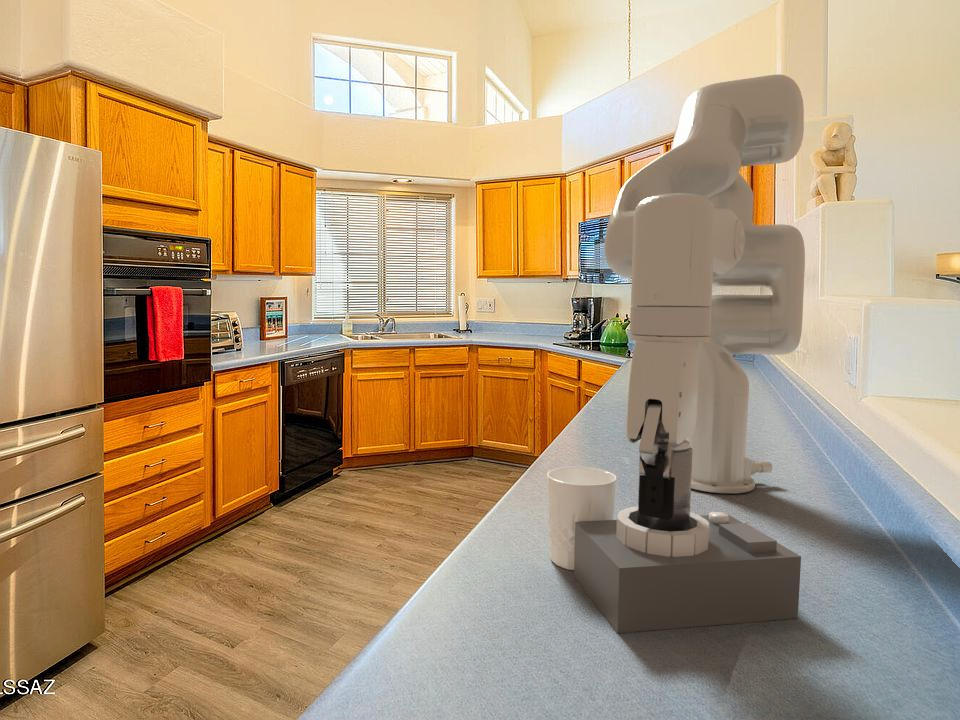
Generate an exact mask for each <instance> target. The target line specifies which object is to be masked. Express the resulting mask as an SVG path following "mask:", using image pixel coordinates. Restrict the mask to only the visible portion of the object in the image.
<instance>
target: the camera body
mask: <svg viewBox="0 0 960 720" xmlns="http://www.w3.org/2000/svg"><path fill="white" fill-rule="evenodd" d="M637 516H638V505H635V506H633V505H632V506H629V507H627V508H623V509H621V510H619V511H618V513H617V516H616V519H614V520H602V521H581V522H575V554H574V570H573V576H574V578H575V579H576V580H577V582H578V583H579V584H580V585H581V587H582V588H583V590H584V591H585V592H586V594H587V596H588V597H590V599H591V601H592V602H593V603H594V604H595V605H596V608H598V609H599V611H600V612H601V614H602V615H603V616H604V617H605V619H606V620H607V622H608V623H609V624H610V626H611V627H612V628H613V630H614V631H615V633H616V634H624V633H635V632H636V633H638V632H649V631H658V630H659V631H660V630H661V631H662V630H672V629H685V628H686V629H687V628H694V627H696V628H697V627H707V626H709V627H710V626H720V625H721V626H723V625H732V624H743V623H745V624H746V623H758V622H765V621H766V622H767V621H769V622H770V621H780V620H781V621H782V620H792V619H794V620H795V619H798V618H799V605H800V604H799V601H800V585H801V583H800V582H801V568H802V567H801V565H802V556H801V555H800V554H798V553H796V552H794V551H793V550H791V549H789V548H787V547H786V546H784V545H782V544H780V543H779V542H778V540H776V539H774V538H773V537H770V536H769V535H768V534H766V533H764V532H762V531H760V530H759V529H757V528H755V527H753V526H751V525H750V524H749V523H747V522H742V521H741V520H738V519H737V518H735V517H734V516H732V515H730V514H727V513H725V512H721V511H710V512H709V513H708V514H707V515H705V514H704V515H699V514H697V513H695V512H692V511H690V526H689V530H687V531H671V532H669V531H662V530H654V529H649V528H646V527H643V526H640V525H637Z"/></svg>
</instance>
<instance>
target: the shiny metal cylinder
mask: <svg viewBox="0 0 960 720" xmlns="http://www.w3.org/2000/svg"><path fill="white" fill-rule="evenodd" d="M658 443H661V444H668V442H667V438H658ZM658 453H662V456H663V457H664V459H663V460H665V451H661V450H658ZM692 453H693V449H692V448H691V447H690V443H689V442H688V441H686V440H684V441H683V442H682V443H680V444H679V445H677V446H675V447H674V454H673V464H672V474H671V477H674V478H675V488H674V514H673V517H672V518H671V519H670V520H667V519H661V518H656V517H650V516H644V515H641V514H640V513H639V511H638V516H637V525H640V526H643V527H646V528H649V529H654V530H662V531H669V532H671V531H687V530H689V526H690V512H691V499H692V498H691V496H692V489H691V477H692ZM640 456H641V455H640V454H639V460H638V461H639V462H638V464H639V465H638V479H639V478H640V461H641V460H640ZM637 492H638V493H637V506H638V508H639V485H638V491H637Z"/></svg>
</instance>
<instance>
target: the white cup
mask: <svg viewBox="0 0 960 720" xmlns="http://www.w3.org/2000/svg"><path fill="white" fill-rule="evenodd" d="M617 481H618V480H617V476H616V474H615V473H612V472H610V471H608V470H604V469H602V468H601V469H600V468H595V467H587V466H563V467H557V468H554V469H550V470H548V471H547V473H546V483H547V484H546V488H547V489H546V491H547V496H546V497H547V516H548V517H547V518H548V519H547V520H548V521H547V524H548V525H547V526H548V536H549V543H550V560H551V562H553V564H555V565H556V566H558V567H560V568H563V569H564V570H565V569H566V570H569V571H574V554H575V522H581V521H602V520H615V507H616V491H617V483H618V482H617Z"/></svg>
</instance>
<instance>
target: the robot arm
mask: <svg viewBox="0 0 960 720" xmlns="http://www.w3.org/2000/svg"><path fill="white" fill-rule="evenodd" d="M804 110H805V108H804V99H803V95H802V91H801V88H800V87H799V85H798V83H797V82H796V81H795V80H794V79H793V78H792V77H790V76H788V75H785V74H770V75H762V76H754V77H749V78H741V79H735V80H728V81H727V80H726V81H722V82H721V81H720V82H716V83H711V84H708V85H704V86H702V87H701V88H698V89H697V90H696V91H693V93H692V94H690V95H689V96H688V98H687V99H686V101H685V103H684V104H683V106H682V108H681V112H680V115H679V119H678V122H677V125H676V127H675V131H674V136H673V139H672V143H671V147H670V150H668V151H667V152H664V153H662V154H661V155H660V156H658V157H657V158H655V159H653V161H651V162H650V163H649V164H646V165H645V166H644V167H643V168H641V169H640V170H638V171H637V172H636V173H634V174H633V175H632V176H630V178H629V179H627V181H626V182H625V183H624V184H623V186H622V187H621V188H620V189H619V192H618V194H617V196H616V198H615V202H614V205H613V208H612V209H611V213H610V216H609V219H608V222H607V226H606V231H605V235H604V255H605V260H606V263H607V265H608V267H609V268H610V270H611V271H612V272H613V273H614V274H616V275H618V276H620V277H622V278H625V279H631V289H630V290H631V292H630V293H631V294H630V318H629V341H635V342H634V347H633V350H632V356H631V357H632V358H631V364H630V371H629V373H630V374H629V382H628V394H627V410H626V419H625V421H626V422H625V423H626V424H625V438H626V440H627V441H628V443H632V444H633V443H637V442H638V441H640V442H639V445H638V452H639V457H640V460H641V461H640V478H639V477H638V486H639V508H638V511H639V513H640V514H641V515H644V516H650V517H656V518H661V519H667V520H670V519H671V518H672V517H673V514H674V488H675V478H674V477H671V474H672V464H673V454H674V447H675V446H677V445H679V444H680V443H682V442H683V441H684V440H686V441H688V442H689V443H690V447H691V448H692V449H693V453H692V477H691V490H696V491H701V492H706V493H707V492H708V493H713V494H731V495H733V494H744V493H748V492H751V491H753V490H754V489H755V487H756V486H755V485H756V483H755V482H756V481H755V479H754V478H753V477H752V476H754V475H756V473H759V474H767V473H768V474H770V473H772V471H773V464H772V463H771V461H769V460H765V461H757V462H756V461H755V459H751V458H748V457H747V439H748V438H747V437H748V420H749V419H748V416H749V414H748V413H749V395H750V383H749V378H748V376H747V374H746V372H745V370H744V369H743V367H741V365H740V364H739V363H738V362H737V361H736V359H734V357H733V355H742V354H747V355H749V354H750V355H770V356H771V355H773V356H775V355H776V356H783V355H788V354H791V353H793V352H794V351H796V350H797V348H798V347H799V344H800V342H801V338H802V331H803V315H804V313H803V312H804V293H805V291H804V290H805V268H806V251H805V250H806V249H805V241H804V237H803V235H802V233H801V231H800V230H799V229H798V228H797V227H795V226H793V225H790V224H783V223H782V224H781V223H780V224H762V225H759V224H755V223H754V220H753V219H754V217H753V216H754V196H755V195H754V191H753V190H752V187H751V186H750V185H749V182H747V180H746V179H745V178H744V177H743V176H742V175H741V174H740V170H741V167H752V166H753V167H754V166H763V165H774V164H776V165H777V164H783V163H787V162H789V161H791V160H792V159H794V158H795V157H796V156H797V154H798V152H799V151H800V149H801V147H802V143H803V140H804V138H803V137H804V131H805V130H804V129H805V127H804V126H805V120H804V119H805V116H804V115H805V114H804V113H805V111H804ZM713 287H764V288H768V289H769V290H770V291H771V293H772V294H713ZM658 438H667V442H668V444H661V443H658ZM658 450H661V451H665V460H663V459H664V457H663V456H662V453H658ZM640 455H641V456H640Z"/></svg>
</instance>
